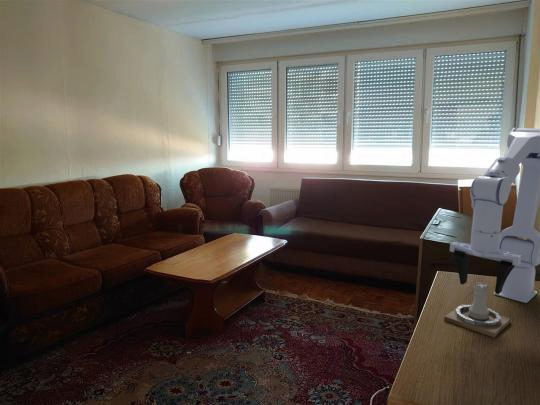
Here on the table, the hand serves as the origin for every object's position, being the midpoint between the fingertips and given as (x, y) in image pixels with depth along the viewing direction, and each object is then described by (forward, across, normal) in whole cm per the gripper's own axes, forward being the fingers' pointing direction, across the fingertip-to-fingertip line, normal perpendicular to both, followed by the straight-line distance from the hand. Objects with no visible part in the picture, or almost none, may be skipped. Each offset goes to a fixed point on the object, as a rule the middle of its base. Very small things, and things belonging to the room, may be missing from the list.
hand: (480, 287), depth 96 cm
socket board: (+8, 0, 0) cm, 8 cm away
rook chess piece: (+8, 0, +1) cm, 8 cm away
